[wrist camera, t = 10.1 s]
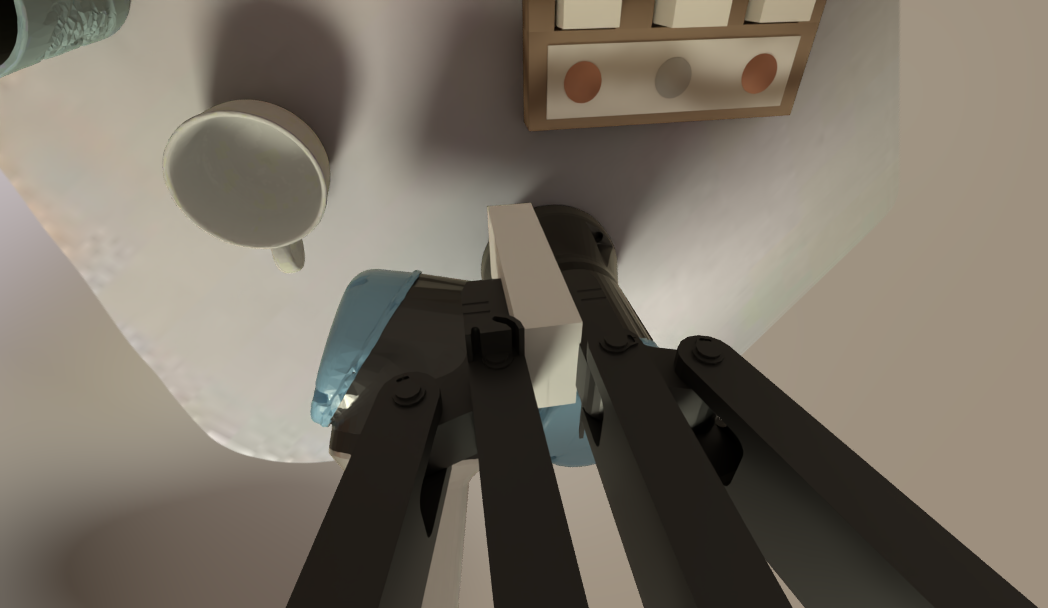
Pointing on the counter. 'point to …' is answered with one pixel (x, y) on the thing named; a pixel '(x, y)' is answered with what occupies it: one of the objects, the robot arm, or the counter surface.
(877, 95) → the counter surface
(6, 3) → the blue-green cup
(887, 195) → the counter surface
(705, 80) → the button board
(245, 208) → the teacup
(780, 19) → the button
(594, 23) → the button
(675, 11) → the button middle
